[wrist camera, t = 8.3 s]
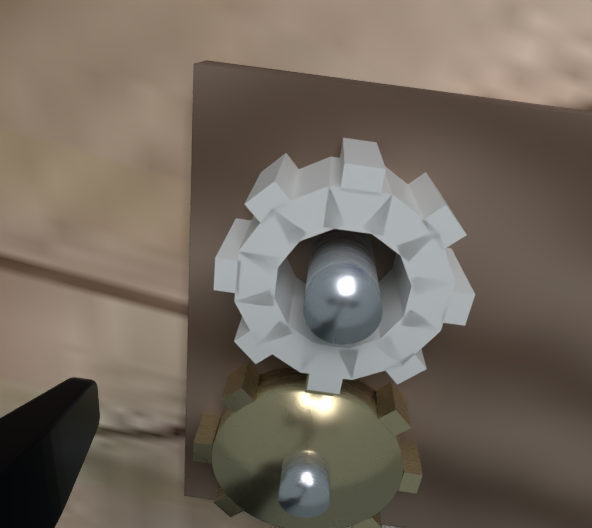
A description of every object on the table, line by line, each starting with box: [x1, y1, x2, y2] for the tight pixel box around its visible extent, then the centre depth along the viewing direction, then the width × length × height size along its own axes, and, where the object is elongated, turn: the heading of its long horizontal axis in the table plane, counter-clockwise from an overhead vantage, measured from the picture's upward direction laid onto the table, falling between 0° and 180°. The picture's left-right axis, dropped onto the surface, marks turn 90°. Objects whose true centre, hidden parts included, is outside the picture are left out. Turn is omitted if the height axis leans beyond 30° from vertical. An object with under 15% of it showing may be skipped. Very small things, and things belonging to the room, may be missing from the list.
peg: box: [303, 229, 383, 345], centre depth 14 cm, size 2×2×4 cm
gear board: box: [184, 61, 592, 528], centre depth 18 cm, size 18×21×2 cm
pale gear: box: [214, 138, 475, 394], centre depth 15 cm, size 7×7×3 cm
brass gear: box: [193, 361, 423, 528], centre depth 18 cm, size 9×9×3 cm
